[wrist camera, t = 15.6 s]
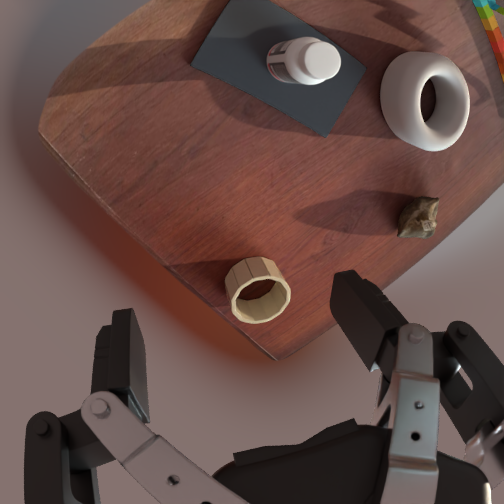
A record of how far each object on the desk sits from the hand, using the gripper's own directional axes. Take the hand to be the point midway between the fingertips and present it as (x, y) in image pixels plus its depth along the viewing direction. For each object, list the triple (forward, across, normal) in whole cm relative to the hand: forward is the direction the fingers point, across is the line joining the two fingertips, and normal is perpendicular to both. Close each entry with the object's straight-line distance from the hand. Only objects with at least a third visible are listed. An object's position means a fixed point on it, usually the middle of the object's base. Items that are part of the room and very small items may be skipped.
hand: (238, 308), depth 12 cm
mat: (+30, -13, -10) cm, 34 cm away
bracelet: (+30, -8, +22) cm, 38 cm away
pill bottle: (+29, -13, -10) cm, 33 cm away
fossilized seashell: (+30, -38, +14) cm, 50 cm away
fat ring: (+30, -34, -7) cm, 46 cm away
